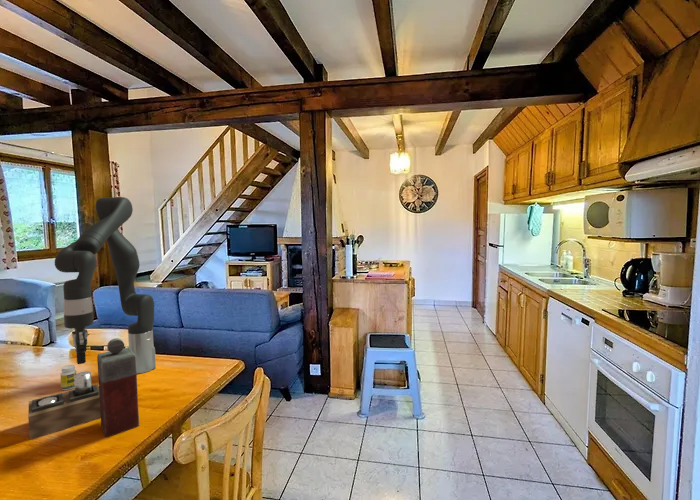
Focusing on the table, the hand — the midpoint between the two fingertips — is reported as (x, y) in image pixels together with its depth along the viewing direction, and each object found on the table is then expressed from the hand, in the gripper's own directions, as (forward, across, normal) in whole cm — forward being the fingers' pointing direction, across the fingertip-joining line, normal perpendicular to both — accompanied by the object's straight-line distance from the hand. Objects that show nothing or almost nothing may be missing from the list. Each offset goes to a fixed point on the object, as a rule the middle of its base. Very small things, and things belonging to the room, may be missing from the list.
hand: (81, 363), depth 115 cm
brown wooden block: (+18, 0, +4) cm, 18 cm away
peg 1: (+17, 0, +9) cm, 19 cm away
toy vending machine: (+18, -14, -8) cm, 24 cm away
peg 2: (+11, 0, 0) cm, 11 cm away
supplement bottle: (+18, +28, +2) cm, 33 cm away
